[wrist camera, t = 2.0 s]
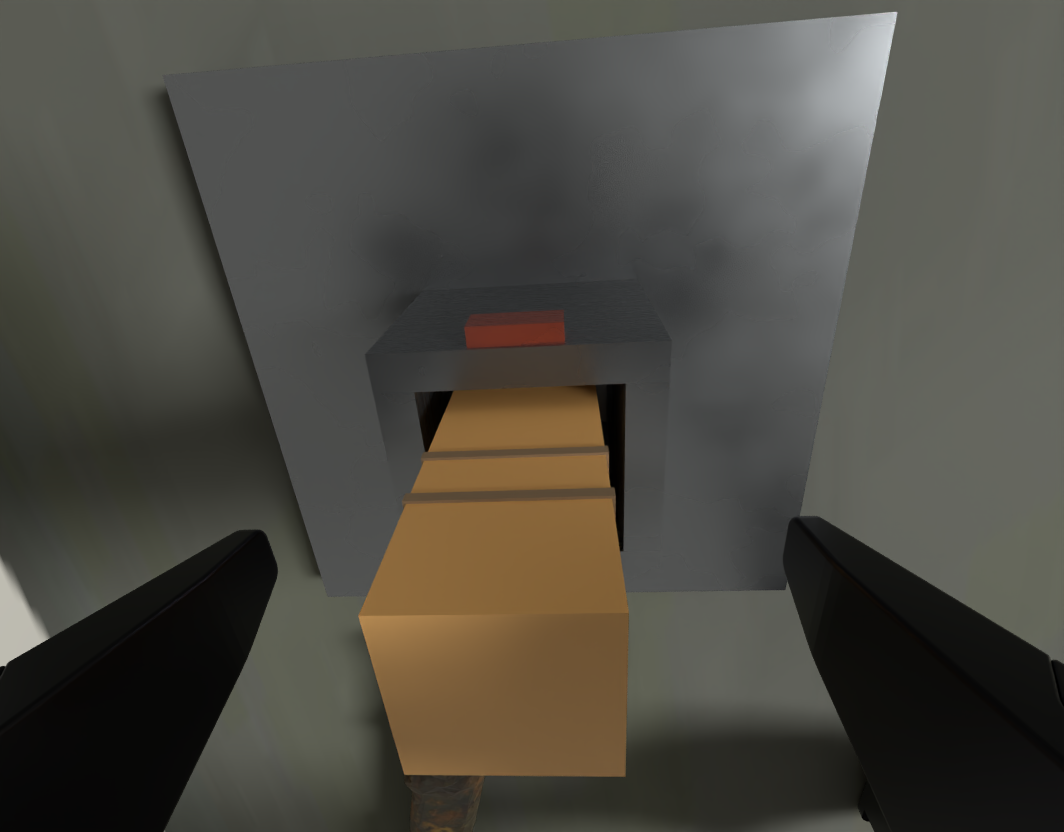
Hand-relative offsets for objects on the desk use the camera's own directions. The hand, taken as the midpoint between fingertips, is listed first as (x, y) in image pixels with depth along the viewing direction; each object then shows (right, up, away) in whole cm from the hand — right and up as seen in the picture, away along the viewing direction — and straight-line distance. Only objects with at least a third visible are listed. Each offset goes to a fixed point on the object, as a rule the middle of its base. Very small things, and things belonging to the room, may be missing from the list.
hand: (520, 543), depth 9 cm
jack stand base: (0, +4, +7) cm, 8 cm away
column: (0, +3, +6) cm, 7 cm away
